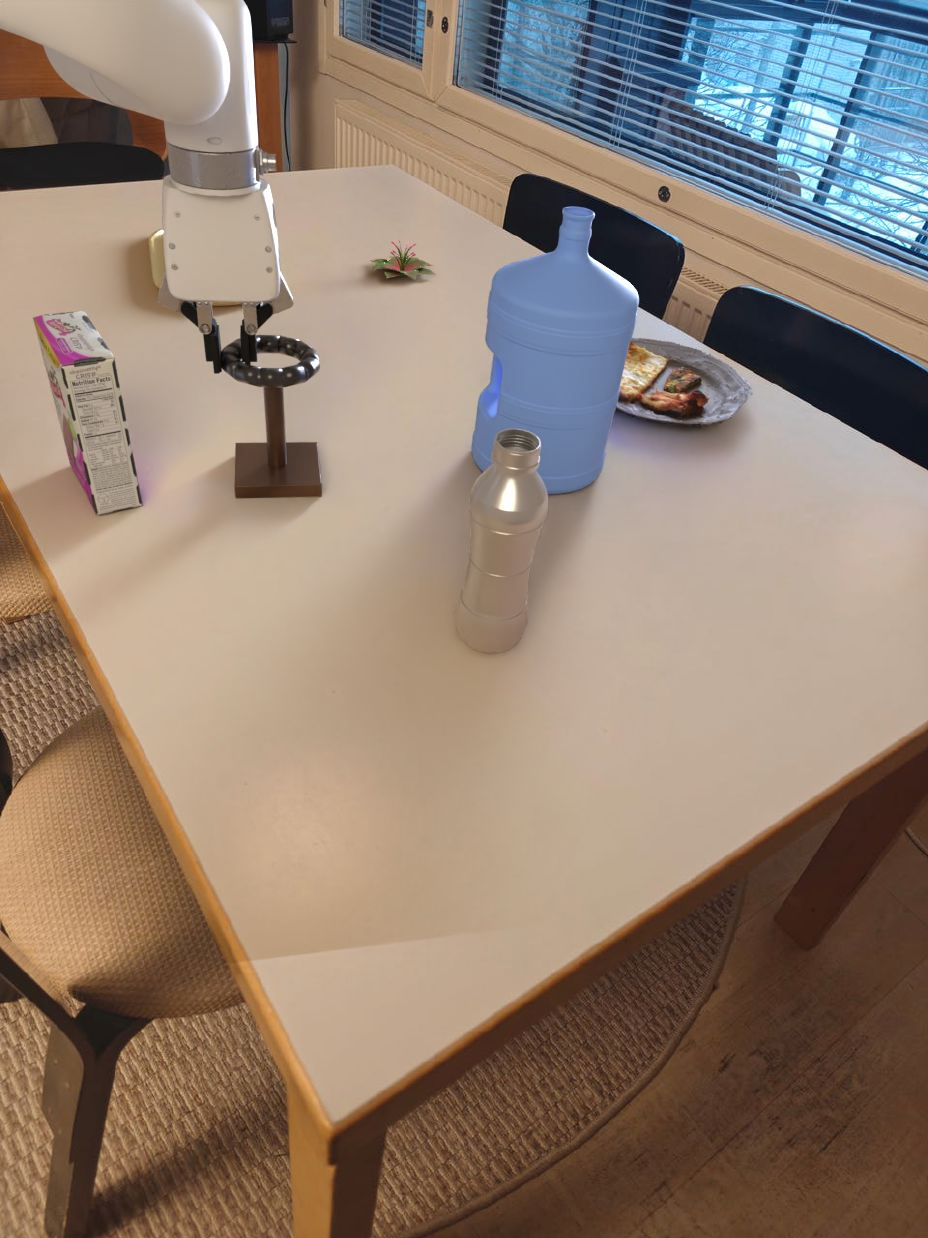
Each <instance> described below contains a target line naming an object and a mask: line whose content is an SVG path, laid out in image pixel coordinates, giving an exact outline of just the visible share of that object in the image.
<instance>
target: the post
mask: <svg viewBox="0 0 928 1238" xmlns="http://www.w3.org/2000/svg"><path fill="white" fill-rule="evenodd" d="M262 388H263V389H262V390H263V404H264V405H263V406H264V407H263V408H264V421H265V422H264V423H265V435H266V442H235V445H234V447H235V448H234V450H235V451H234V455H235V456H234V479H233V480H234V481H233V483H234V484H233V487H234V488H233V489H234V498H235V499H261V498H262V499H264V498H265V499H268V498H269V499H273V498H274V499H275V498H317V497H318V498H319V497H320V498H321V497H323V490H322V489H323V486H322V485H323V483H322V477H321V466H320V457H319V447H318V442H317V441H311V442H310V441H300V442H299V441H298V442H296V441H295V442H294V441H292V442H291V441H289V442H287V440H286V438H287V436H286V435H287V434H286V416H285V396H284V395H285V394H284V387H283V388H282V387H262Z"/></svg>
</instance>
